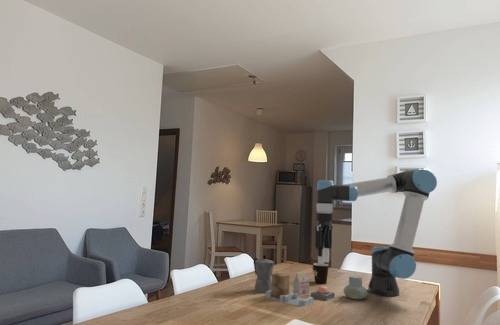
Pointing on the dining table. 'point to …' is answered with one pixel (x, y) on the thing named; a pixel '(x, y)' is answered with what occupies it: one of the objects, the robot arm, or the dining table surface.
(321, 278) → the coffee mug
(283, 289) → the walnut block
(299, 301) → the board
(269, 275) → the coffeepot
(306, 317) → the dining table surface
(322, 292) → the button
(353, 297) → the air freshener
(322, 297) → the switch box
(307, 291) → the tea bag
